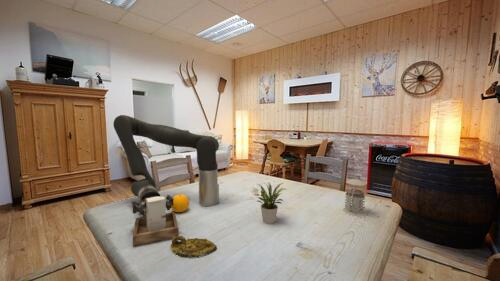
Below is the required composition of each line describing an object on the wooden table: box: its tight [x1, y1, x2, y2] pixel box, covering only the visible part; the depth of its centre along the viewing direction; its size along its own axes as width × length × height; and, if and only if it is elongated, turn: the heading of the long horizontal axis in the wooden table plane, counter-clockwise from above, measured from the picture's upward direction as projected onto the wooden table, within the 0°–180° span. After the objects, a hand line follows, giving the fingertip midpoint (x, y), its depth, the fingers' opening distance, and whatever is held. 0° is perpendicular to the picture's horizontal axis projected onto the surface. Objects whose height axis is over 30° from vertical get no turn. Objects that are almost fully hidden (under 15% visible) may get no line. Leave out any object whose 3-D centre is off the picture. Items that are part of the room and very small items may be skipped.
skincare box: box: [145, 195, 167, 232], centre depth 77 cm, size 6×4×12 cm
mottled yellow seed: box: [169, 235, 218, 259], centre depth 68 cm, size 9×5×15 cm
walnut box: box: [132, 211, 179, 248], centre depth 77 cm, size 14×14×4 cm
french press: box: [342, 158, 367, 218], centre depth 95 cm, size 10×12×25 cm
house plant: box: [255, 181, 286, 225], centre depth 87 cm, size 14×14×16 cm
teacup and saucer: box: [250, 187, 261, 198], centre depth 117 cm, size 9×8×4 cm
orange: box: [171, 193, 190, 213], centre depth 96 cm, size 8×8×8 cm
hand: (156, 210), depth 75 cm, fingers open, 8 cm apart
